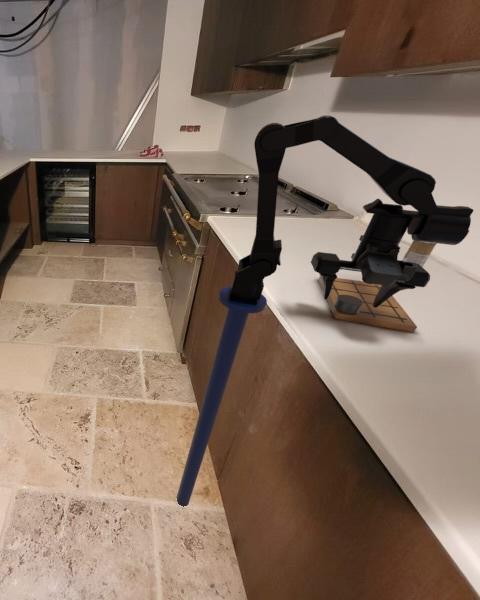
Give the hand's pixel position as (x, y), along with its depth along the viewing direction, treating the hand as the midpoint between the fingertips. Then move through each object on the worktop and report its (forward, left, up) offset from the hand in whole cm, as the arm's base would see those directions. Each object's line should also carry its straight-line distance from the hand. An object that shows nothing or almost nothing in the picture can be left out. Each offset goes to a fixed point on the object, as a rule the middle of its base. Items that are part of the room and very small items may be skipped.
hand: (349, 302), depth 72 cm
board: (+5, +8, -3) cm, 10 cm away
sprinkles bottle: (+19, +26, -4) cm, 32 cm away
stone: (0, 0, -2) cm, 2 cm away
